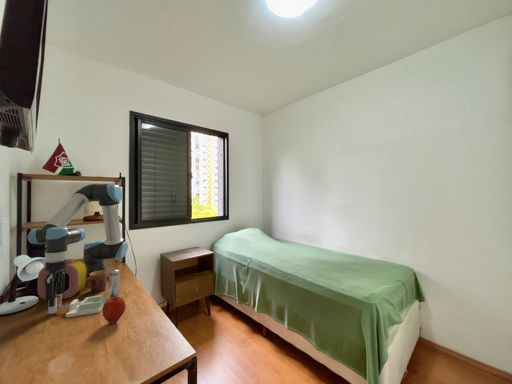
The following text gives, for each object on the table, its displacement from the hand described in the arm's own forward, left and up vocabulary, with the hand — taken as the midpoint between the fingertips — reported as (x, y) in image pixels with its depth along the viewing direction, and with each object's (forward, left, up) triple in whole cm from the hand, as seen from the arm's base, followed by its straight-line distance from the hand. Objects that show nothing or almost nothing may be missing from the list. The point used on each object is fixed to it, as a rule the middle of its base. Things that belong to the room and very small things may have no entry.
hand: (54, 310), depth 100 cm
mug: (-21, +10, -2) cm, 23 cm away
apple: (+18, +28, -2) cm, 33 cm away
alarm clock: (-21, -5, -2) cm, 22 cm away
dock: (0, +13, -1) cm, 13 cm away
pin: (0, +6, -1) cm, 7 cm away
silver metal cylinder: (-8, +22, -1) cm, 23 cm away
